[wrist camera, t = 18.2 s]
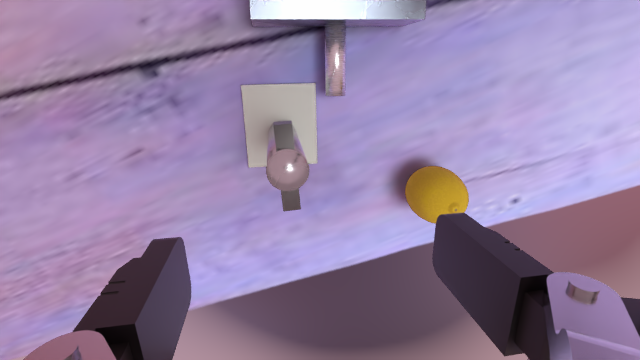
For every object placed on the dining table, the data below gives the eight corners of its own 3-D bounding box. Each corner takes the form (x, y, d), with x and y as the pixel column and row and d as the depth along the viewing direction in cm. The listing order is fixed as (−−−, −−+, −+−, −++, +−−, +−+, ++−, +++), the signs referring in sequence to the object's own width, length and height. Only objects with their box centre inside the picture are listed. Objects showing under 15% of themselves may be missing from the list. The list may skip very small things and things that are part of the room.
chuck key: (293, 102, 32) (305, 123, 21) (299, 161, 34) (312, 210, 23) (264, 105, 32) (260, 127, 20) (271, 164, 34) (271, 215, 23)
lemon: (393, 161, 36) (427, 186, 29) (441, 154, 37) (486, 176, 29) (395, 207, 38) (427, 242, 31) (440, 200, 39) (483, 231, 31)
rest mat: (241, 85, 31) (241, 85, 31) (314, 83, 32) (315, 83, 32) (248, 166, 34) (248, 167, 33) (316, 162, 35) (317, 163, 34)
